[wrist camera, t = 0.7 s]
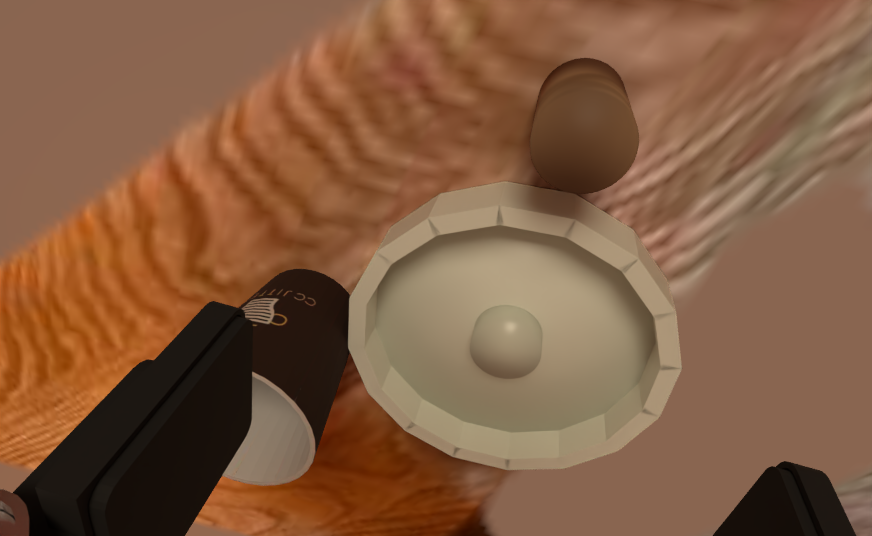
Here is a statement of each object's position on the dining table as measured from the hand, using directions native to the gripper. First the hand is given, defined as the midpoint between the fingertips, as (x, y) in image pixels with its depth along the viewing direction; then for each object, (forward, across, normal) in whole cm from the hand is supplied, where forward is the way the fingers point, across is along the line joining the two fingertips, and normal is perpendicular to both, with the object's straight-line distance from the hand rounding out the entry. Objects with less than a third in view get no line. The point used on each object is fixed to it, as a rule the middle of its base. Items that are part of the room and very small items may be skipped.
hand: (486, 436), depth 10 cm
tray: (+20, -2, +12) cm, 24 cm away
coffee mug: (+20, +12, +16) cm, 28 cm away
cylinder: (+20, -2, -1) cm, 20 cm away
